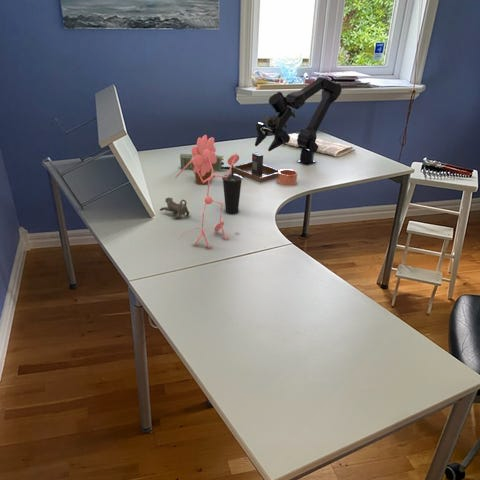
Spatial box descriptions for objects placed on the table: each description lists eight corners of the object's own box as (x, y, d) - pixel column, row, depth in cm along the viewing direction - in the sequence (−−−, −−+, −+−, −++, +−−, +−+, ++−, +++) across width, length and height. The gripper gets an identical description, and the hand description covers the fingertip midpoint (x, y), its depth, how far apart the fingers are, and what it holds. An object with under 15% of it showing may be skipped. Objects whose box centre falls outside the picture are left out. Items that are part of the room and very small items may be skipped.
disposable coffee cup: (197, 187, 213) (196, 159, 206) (189, 180, 220) (188, 153, 213) (217, 183, 216) (217, 156, 209) (208, 177, 223) (208, 150, 216)
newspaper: (277, 143, 270) (278, 138, 269) (297, 136, 283) (298, 131, 281) (335, 157, 252) (336, 152, 250) (354, 149, 264) (354, 144, 262)
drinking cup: (221, 208, 194) (221, 157, 183) (240, 207, 195) (241, 157, 183) (222, 215, 188) (222, 164, 177) (242, 215, 189) (243, 163, 177)
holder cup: (286, 178, 224) (287, 168, 221) (299, 183, 219) (301, 172, 216) (274, 182, 219) (274, 171, 217) (287, 187, 215) (288, 176, 212)
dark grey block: (255, 171, 229) (256, 152, 224) (262, 174, 226) (263, 155, 221) (250, 173, 228) (251, 153, 223) (257, 175, 225) (258, 156, 220)
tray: (253, 166, 237) (253, 161, 236) (282, 177, 226) (282, 171, 224) (231, 172, 229) (231, 166, 228) (260, 183, 218) (260, 178, 216)
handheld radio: (181, 166, 234) (233, 169, 232) (180, 169, 232) (232, 172, 230) (181, 153, 230) (233, 155, 228) (179, 155, 227) (233, 158, 226)
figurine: (242, 232, 177) (246, 131, 157) (194, 257, 160) (191, 149, 140) (210, 220, 184) (209, 123, 164) (161, 243, 168) (153, 138, 147)
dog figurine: (192, 217, 187) (191, 198, 182) (181, 221, 183) (181, 203, 179) (169, 209, 192) (168, 190, 188) (159, 213, 189) (157, 195, 184)
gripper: (259, 103, 221) (239, 132, 221) (287, 111, 209) (266, 142, 210) (271, 119, 229) (252, 147, 230) (298, 128, 218) (279, 157, 218)
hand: (261, 148), depth 222 cm, fingers open, 9 cm apart
